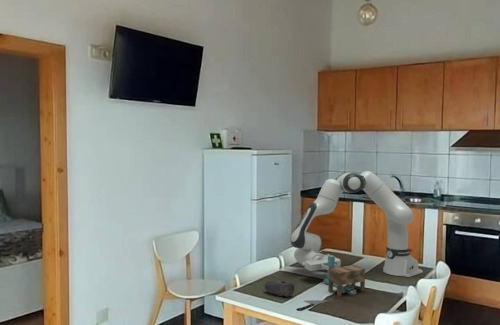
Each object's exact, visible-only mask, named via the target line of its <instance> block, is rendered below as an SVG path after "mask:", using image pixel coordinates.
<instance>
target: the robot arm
mask: <svg viewBox="0 0 500 325" xmlns="http://www.w3.org/2000/svg"><path fill="white" fill-rule="evenodd" d="M362 190H363V192H365V194H367V196H368V197H369V198H370V199H371V201H373V202H374V203H375V204H376V206H378V207H379V208H380V209H381V210H382V211H383V212H384V213H385V219H386V229H387V238H386V239H387V246H386V248H385V249H386V250H385V253H386V254H385V259H384V265H383V267H382V269H383V270H382V272H383V273H384V274H387V275H391V276H397V277H404V278H405V277H407V278H411V277H413V276H417V275H419V274H422V273H424V272H423V270H422V269H421V268H419V262H418V260H417V259H416V258H414V257H413V256H412V255H411V253H414V249H413V248H410V247H409V231H408V228H407V226H408V225H410V224H411V223H412V222H413V221H414V218H415V216H414V215H415V214H414V212H413V210H412V209H411V208H410V207H409V206H408V205H407V204H406V203H405V202H404V201H403V200H402V199H401V198H400V197H399V196H397V195H396V194H395V193H394V192H393V191H392V190H391V188H389V187H388V185H387V184H385V182H383V180H382V179H380V178H379V177H378V176H377V175H376V174H375V173H374V172H372V171H369V170H365V171H363V172H361V173H360V174H358V173H355V172H344V173H341V174H340V175H339V176H338V177H336V178H329V179H326V180H325V181H324V183H323V184H322V186H321V189H319V193H318V196H317V197H316V199H315V200H314V201H313V202H312V203H310V204H308V207H307V208H306V209H305V211H304V213H303V215H302V217H301V218H300V220H299V222H298V224H297V225H296V228H294V230H293V231H292V233H291V234H290V238H289V241H290V244H291V245H292V247H294V248H295V251H294V253H293V255H294V259H295V261H296V262H297V263H299V264H300V265H301V266H303V267H304V269H306V270H308V271H310V272H314V271H321V270H326V271H327V270H329V269H330V266H328V256H329V255H330V254H329V253H320V252H321V250H322V245H323V243H322V242H323V241H322V238H321V236H319V235H318V234H315V233H311V232H308V231H307V230H308V229H309V227H310V226H311V223H312V221H313V219H314V218H315V217H317V216H318V217H319V216H322V215H327V214H330V213H332V212H334V211H335V209H336V207H337V204H338V202H339V198H340V197H341V195H342V194H343V193H344V192H345V193H349V194H353V193H357V192H359V191H362ZM341 265H342V262H341V259H340V258H337V257H336V256H335V264H334V268H337V267H341Z"/></svg>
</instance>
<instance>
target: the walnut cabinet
mask: <svg viewBox="0 0 500 325" xmlns="http://www.w3.org/2000/svg"><path fill="white" fill-rule="evenodd" d="M365 282H366V268H364V267H361V266H358V265H355V264H351V265H345V266H340V267H336V268H330V269H329V285H328V286H327V288H328V292H330V293H331V292H333V291H334V285H333V283H335V284H337V287H336V295H337V296H339V297H340V296H342V294H343V293H342V285H343V286H345V285H350V287H353V288H354V289H355V288H356V284H357V283H359V291H360V292H362V293H363V292H365V290H366V289H365V288H366V285H365V284H366V283H365Z"/></svg>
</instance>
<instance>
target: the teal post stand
mask: <svg viewBox="0 0 500 325" xmlns="http://www.w3.org/2000/svg"><path fill="white" fill-rule="evenodd" d="M335 257H336V256H334V255H332V254H329V256H328V266H330V268H334V264H335ZM326 271H327V272H326V278H324V279H323V283H324V284H327V285H328V286H329V270H326ZM333 287H336V288H337V284H335V283H333ZM347 289H355V287H354V288H353V287H351V286H350V287H346V286H345V285H342V294H344V293H347Z"/></svg>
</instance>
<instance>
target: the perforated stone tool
mask: <svg viewBox="0 0 500 325" xmlns="http://www.w3.org/2000/svg"><path fill="white" fill-rule="evenodd" d="M264 289H265V290H266V291H265V292H268V293H269V294H271V295H272V294H274V295H275V296H279V297H286V298H289V297H292V296H293V295H294V293H295V284H294V283H293V282H289V281H285V280H270V281H266V282H265V284H264Z"/></svg>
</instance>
